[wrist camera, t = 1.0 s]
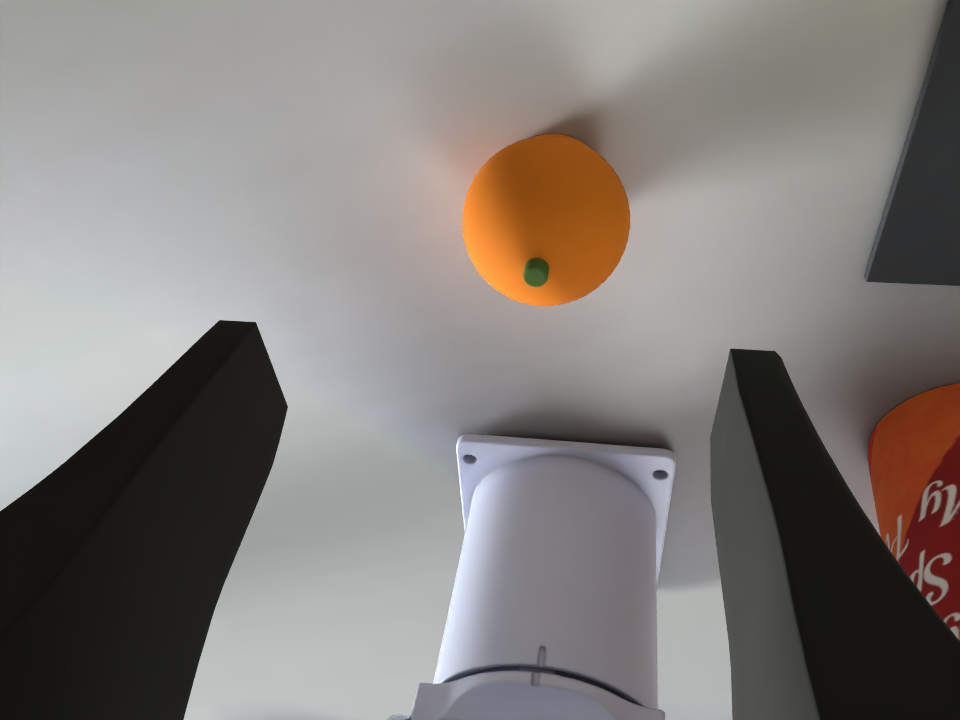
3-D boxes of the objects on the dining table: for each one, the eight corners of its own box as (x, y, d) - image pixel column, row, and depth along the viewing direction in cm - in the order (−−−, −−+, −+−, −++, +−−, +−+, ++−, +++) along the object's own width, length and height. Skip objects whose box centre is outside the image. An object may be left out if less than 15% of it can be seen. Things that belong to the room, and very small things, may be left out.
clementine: (626, 251, 24) (622, 354, 20) (480, 245, 25) (452, 343, 21) (636, 109, 21) (634, 199, 17) (472, 107, 22) (437, 193, 18)
